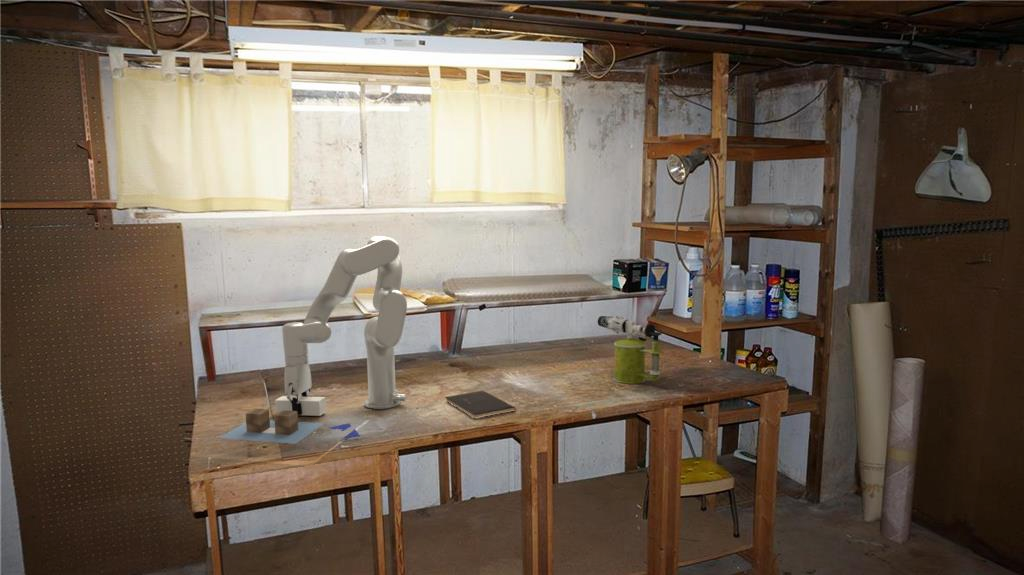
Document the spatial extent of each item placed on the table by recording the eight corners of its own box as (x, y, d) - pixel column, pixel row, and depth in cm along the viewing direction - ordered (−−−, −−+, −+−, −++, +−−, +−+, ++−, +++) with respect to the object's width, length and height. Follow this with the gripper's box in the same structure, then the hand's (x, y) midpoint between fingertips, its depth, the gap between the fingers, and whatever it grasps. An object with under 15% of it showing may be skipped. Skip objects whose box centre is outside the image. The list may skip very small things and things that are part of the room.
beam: (326, 411, 231) (325, 397, 230) (320, 415, 226) (318, 401, 226) (283, 410, 234) (282, 396, 233) (276, 414, 230) (275, 400, 229)
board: (324, 426, 220) (324, 423, 220) (295, 447, 203) (294, 443, 203) (252, 421, 226) (252, 418, 226) (218, 441, 209) (218, 437, 208)
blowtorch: (649, 391, 254) (650, 326, 251) (589, 373, 281) (589, 314, 277) (672, 385, 262) (673, 322, 259) (612, 368, 288) (612, 310, 285)
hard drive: (325, 426, 217) (333, 439, 206) (351, 422, 221) (360, 435, 210) (326, 431, 218) (333, 444, 206) (351, 427, 221) (360, 440, 210)
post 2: (298, 429, 215) (297, 411, 214) (289, 435, 210) (288, 416, 209) (284, 428, 216) (283, 410, 215) (275, 433, 211) (274, 415, 211)
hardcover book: (474, 421, 226) (473, 414, 226) (445, 403, 246) (445, 396, 245) (515, 412, 234) (515, 406, 233) (484, 396, 254) (484, 390, 253)
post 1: (270, 427, 217) (268, 409, 216) (261, 432, 212) (259, 414, 212) (256, 426, 218) (254, 408, 218) (246, 431, 214) (245, 413, 213)
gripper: (299, 352, 236) (304, 403, 239) (272, 366, 220) (277, 420, 223) (319, 353, 235) (323, 404, 237) (293, 366, 218) (298, 420, 221)
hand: (301, 411), depth 230 cm, fingers closed on beam, 4 cm apart
